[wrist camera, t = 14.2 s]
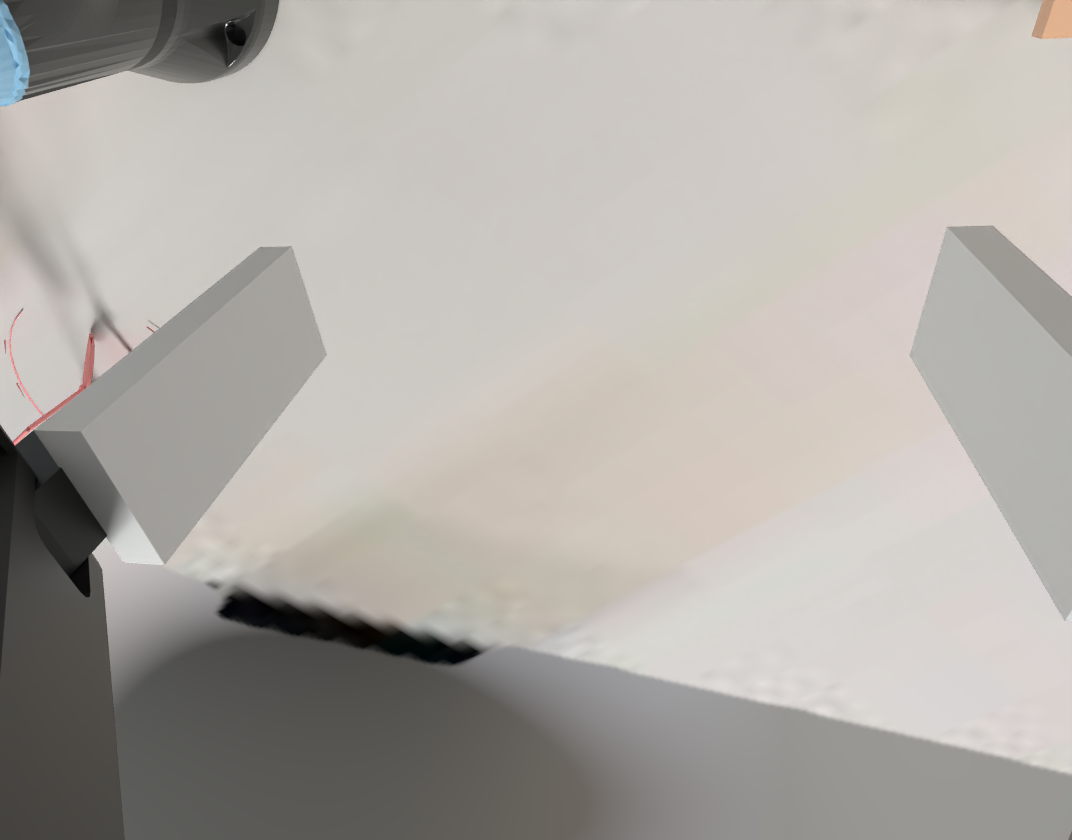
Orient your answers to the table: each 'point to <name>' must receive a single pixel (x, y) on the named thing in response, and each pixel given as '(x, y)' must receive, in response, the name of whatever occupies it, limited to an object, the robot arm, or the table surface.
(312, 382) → the table surface
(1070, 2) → the lid
